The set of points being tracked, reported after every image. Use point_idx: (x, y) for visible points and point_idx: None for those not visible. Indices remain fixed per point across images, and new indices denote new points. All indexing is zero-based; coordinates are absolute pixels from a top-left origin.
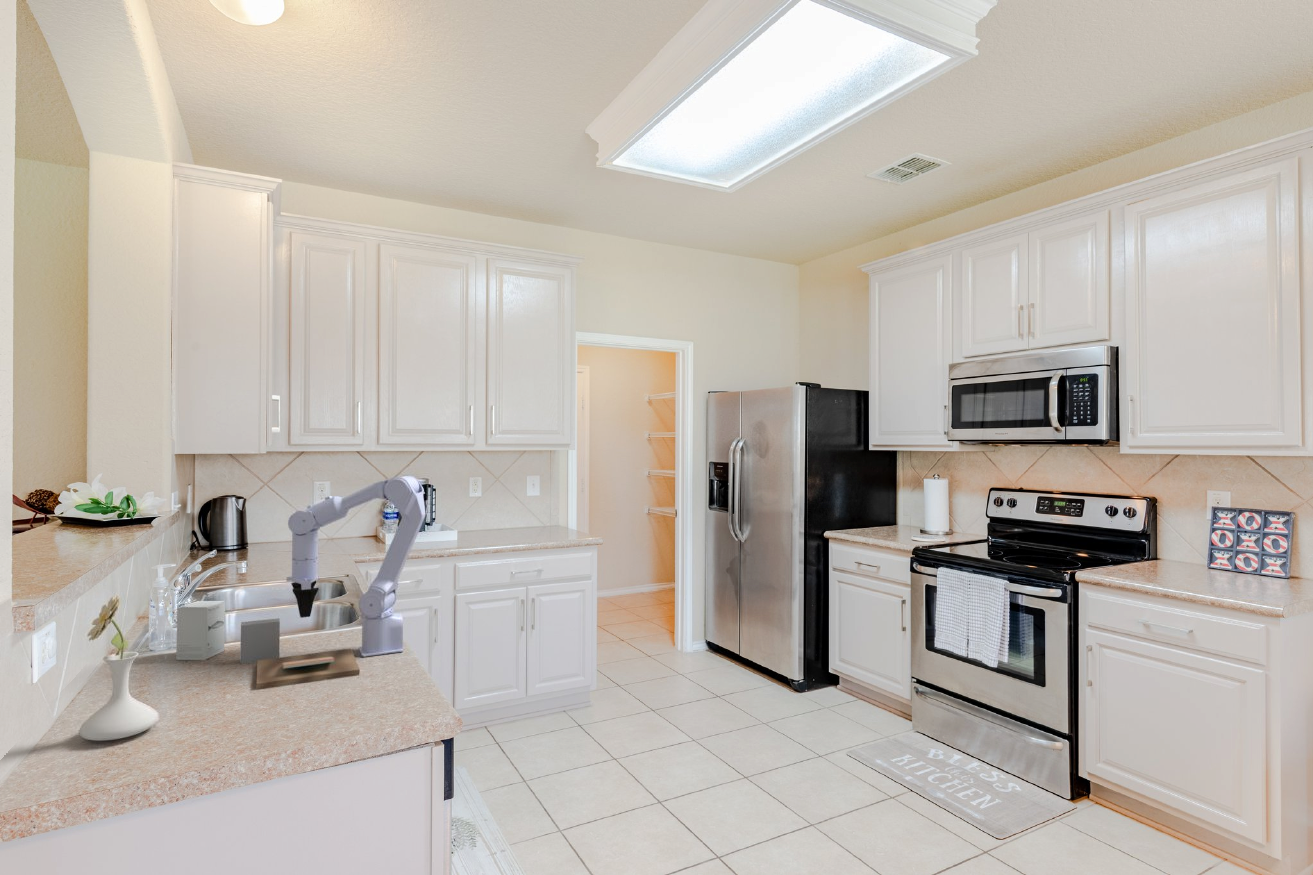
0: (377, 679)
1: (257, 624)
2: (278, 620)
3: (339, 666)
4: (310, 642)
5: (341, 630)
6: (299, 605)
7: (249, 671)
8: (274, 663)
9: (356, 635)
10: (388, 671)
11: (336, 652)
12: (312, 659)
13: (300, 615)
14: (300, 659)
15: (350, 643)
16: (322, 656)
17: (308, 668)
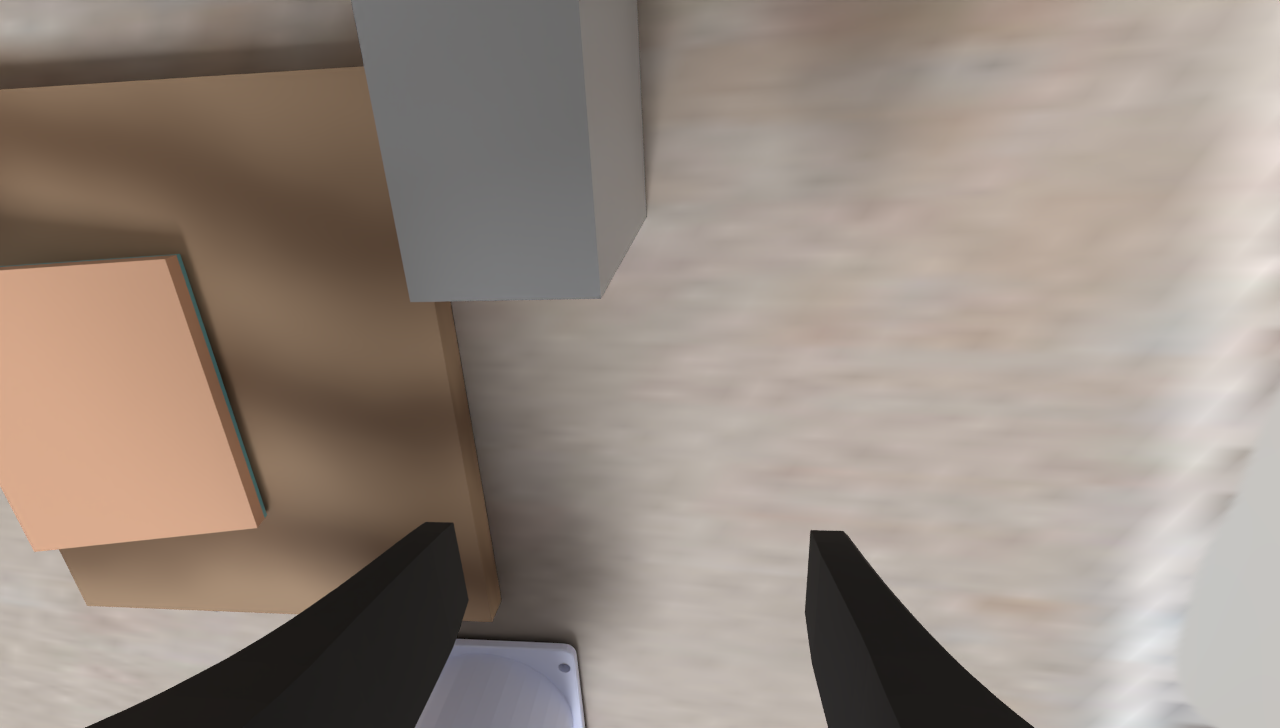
0: (40, 632)
1: (359, 12)
2: (474, 287)
3: None
4: (906, 426)
5: (1130, 620)
6: (296, 627)
7: (275, 17)
8: (274, 198)
9: None
10: (148, 682)
11: None
12: (153, 436)
13: (408, 536)
14: (334, 360)
15: (731, 622)
16: (368, 479)
17: None
